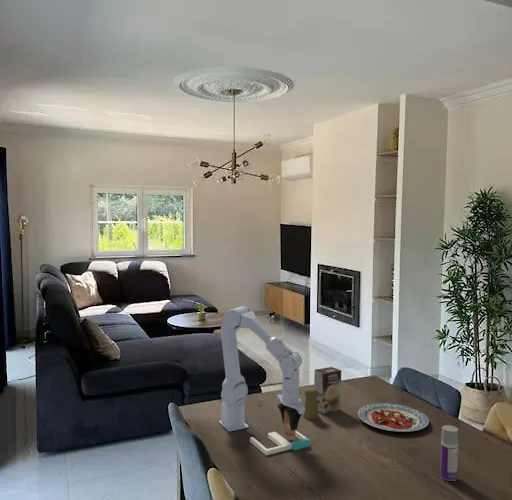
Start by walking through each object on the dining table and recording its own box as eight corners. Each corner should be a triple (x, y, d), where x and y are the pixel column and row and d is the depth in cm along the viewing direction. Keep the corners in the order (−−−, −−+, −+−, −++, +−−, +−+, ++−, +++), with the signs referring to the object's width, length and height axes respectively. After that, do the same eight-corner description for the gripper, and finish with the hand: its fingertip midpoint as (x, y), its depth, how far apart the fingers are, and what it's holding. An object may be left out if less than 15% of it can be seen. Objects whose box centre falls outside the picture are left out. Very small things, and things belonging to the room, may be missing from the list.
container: (437, 473, 146) (438, 425, 145) (452, 473, 146) (453, 424, 145) (444, 482, 141) (446, 432, 140) (460, 481, 141) (461, 431, 141)
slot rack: (249, 441, 166) (250, 434, 166) (291, 431, 174) (291, 424, 174) (268, 457, 155) (268, 449, 155) (311, 445, 163) (312, 438, 163)
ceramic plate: (352, 429, 177) (352, 421, 177) (364, 404, 201) (364, 397, 201) (426, 442, 167) (427, 433, 167) (430, 414, 191) (430, 407, 191)
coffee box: (323, 414, 190) (323, 373, 189) (313, 408, 196) (313, 369, 195) (341, 409, 195) (341, 370, 194) (330, 404, 200) (331, 366, 199)
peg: (282, 432, 168) (282, 409, 168) (291, 429, 170) (291, 407, 170) (288, 436, 165) (288, 413, 164) (298, 434, 167) (298, 411, 166)
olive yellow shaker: (318, 420, 184) (318, 391, 184) (302, 418, 185) (302, 390, 185) (319, 414, 190) (319, 386, 189) (303, 412, 191) (304, 385, 191)
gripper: (312, 393, 162) (311, 432, 163) (289, 380, 175) (288, 417, 176) (294, 396, 159) (294, 437, 160) (272, 383, 172) (271, 421, 172)
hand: (290, 427), depth 167 cm, fingers closed on peg, 4 cm apart
